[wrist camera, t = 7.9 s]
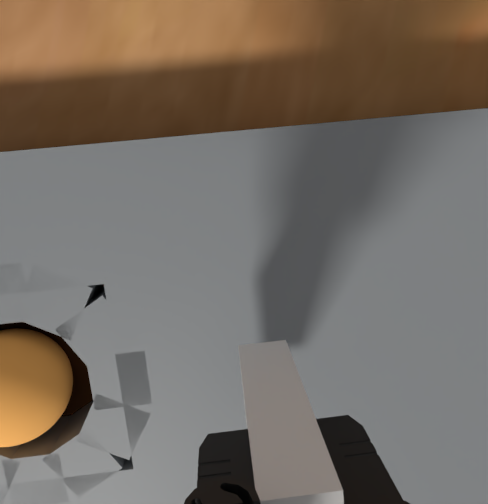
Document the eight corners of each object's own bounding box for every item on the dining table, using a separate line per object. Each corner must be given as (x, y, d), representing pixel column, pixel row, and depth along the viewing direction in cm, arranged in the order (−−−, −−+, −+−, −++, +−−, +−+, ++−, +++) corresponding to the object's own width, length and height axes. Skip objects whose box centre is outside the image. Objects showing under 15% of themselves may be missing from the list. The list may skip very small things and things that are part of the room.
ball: (-17, 421, 18) (-59, 487, 14) (-42, 325, 17) (-93, 368, 13) (87, 398, 19) (75, 455, 15) (68, 306, 18) (50, 340, 14)
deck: (-90, 552, 20) (-133, 609, 17) (-200, 173, 16) (-273, 176, 14) (544, 471, 21) (588, 513, 18) (564, 104, 17) (621, 96, 15)
